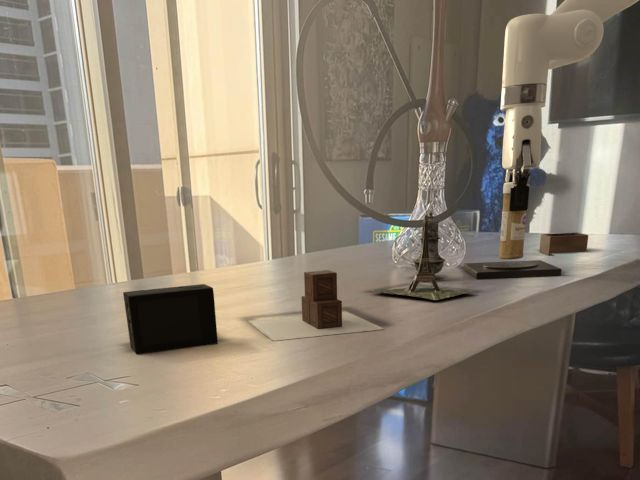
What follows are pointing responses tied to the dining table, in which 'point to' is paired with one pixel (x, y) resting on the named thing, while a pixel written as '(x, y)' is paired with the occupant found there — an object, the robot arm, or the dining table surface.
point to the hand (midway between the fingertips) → (514, 209)
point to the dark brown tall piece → (431, 248)
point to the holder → (563, 243)
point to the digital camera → (171, 318)
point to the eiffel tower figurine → (424, 278)
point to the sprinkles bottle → (511, 228)
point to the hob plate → (511, 269)
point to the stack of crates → (315, 313)
